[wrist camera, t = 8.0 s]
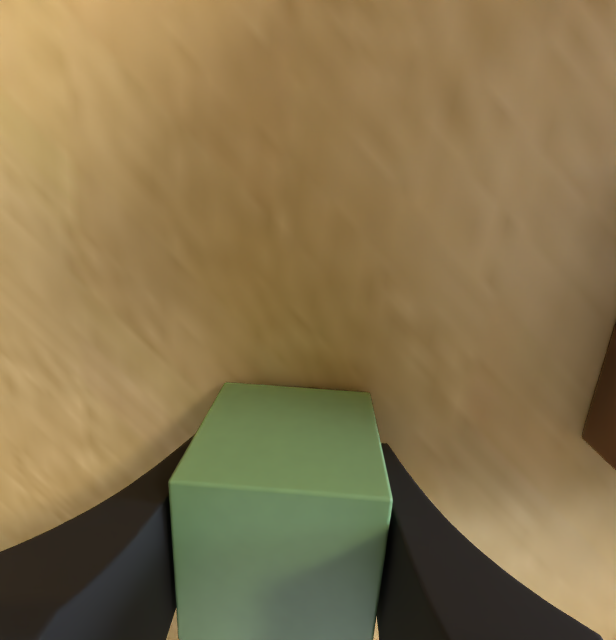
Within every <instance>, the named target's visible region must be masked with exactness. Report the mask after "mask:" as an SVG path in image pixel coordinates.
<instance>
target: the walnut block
mask: <svg viewBox="0 0 616 640" xmlns="http://www.w3.org/2000/svg"><path fill="white" fill-rule="evenodd" d="M582 439H583V440H584V441H585V442H586V443H587V444H588V445H590V446H591V447H592V448H593V449H594V450H595V451H596V452H597V453H598V454H599V455H600V456H601V457H602V458H603V459H604V460H605V461H607V462H608V463H609V464H610V465H611V466H612V467H613V468H614V469H615V470H616V324H615V327H614V330H613V334H612V337H611V340H610V344H609V347H608V350H607V354H606V357H605V360H604V364H603V367H602V370H601V374H600V377H599V380H598V384H597V387H596V390H595V394H594V397H593V400H592V404H591V407H590V410H589V414H588V417H587V420H586V424H585V427H584V430H583V434H582Z"/></svg>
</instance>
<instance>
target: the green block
mask: <svg viewBox="0 0 616 640" xmlns="http://www.w3.org/2000/svg"><path fill="white" fill-rule="evenodd" d="M168 487H169V502H170V517H171V533H172V548H173V563H174V579H175V594H176V610H177V625H178V638H179V640H373V636H374V629H375V622H376V615H377V608H378V601H379V594H380V587H381V580H382V573H383V566H384V559H385V552H386V545H387V538H388V531H389V524H390V517H391V510H392V503H393V498H392V493H391V488H390V484H389V479H388V474H387V470H386V465H385V460H384V456H383V451H382V446H381V442H380V437H379V432H378V427H377V423H376V418H375V413H374V409H373V404H372V399H371V395H370V393H368V392H357V391H343V390H329V389H315V388H301V387H287V386H272V385H258V384H244V383H230V382H226V383H224V385H223V387H222V388H221V390H220V392H219V394H218V395H217V397H216V399H215V401H214V402H213V404H212V406H211V408H210V409H209V411H208V413H207V415H206V416H205V418H204V420H203V422H202V423H201V425H200V427H199V429H198V430H197V432H196V434H195V436H194V437H193V439H192V441H191V443H190V444H189V446H188V448H187V450H186V451H185V453H184V455H183V457H182V458H181V460H180V462H179V464H178V465H177V467H176V469H175V471H174V472H173V474H172V476H171V478H170V479H169V482H168Z"/></svg>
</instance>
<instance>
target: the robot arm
mask: <svg viewBox="0 0 616 640" xmlns="http://www.w3.org/2000/svg"><path fill="white" fill-rule="evenodd" d="M194 436H195V435H194ZM194 436H192V437H191V438H190V439H189V440H188V441H186V442H185V443H184V444H183V445H181V446H180V447H179V448H178V449H177V450H175V451H174V452H173V453H172V454H170V455H169V456H168V457H167V458H165V459H164V460H163V461H162V462H160V463H159V464H158V465H157V466H155V467H154V468H153V469H151V470H150V471H148V472H147V473H146V474H144V475H143V476H141V477H140V478H139V479H137V480H136V481H134V482H133V483H132V484H130V485H129V486H127V487H126V488H124V489H123V490H121V491H120V492H118V493H117V494H115V495H113V496H112V497H110V498H109V499H107V500H105V501H104V502H102V503H100V504H99V505H97V506H95V507H93V508H92V509H90V510H88V511H86V512H84V513H82V514H80V515H79V516H77V517H75V518H73V519H71V520H69V521H67V522H65V523H63V524H61V525H59V526H57V527H55V528H53V529H51V530H49V531H47V532H45V533H43V534H41V535H38V536H36V537H34V538H32V539H30V540H27V541H25V542H23V543H20V544H18V545H16V546H13V547H11V548H9V549H6V550H4V551H1V552H0V640H166V638H167V634H168V631H169V628H170V625H171V622H172V619H173V615H174V612H175V609H176V594H175V579H174V563H173V548H172V533H171V517H170V502H169V487H168V482H169V479H170V478H171V476H172V474H173V472H174V471H175V469H176V467H177V465H178V464H179V462H180V460H181V458H182V457H183V455H184V453H185V451H186V450H187V448H188V446H189V444H190V443H191V441H192V439H193V437H194ZM381 446H382V451H383V456H384V460H385V465H386V470H387V474H388V479H389V484H390V488H391V493H392V498H393V503H392V510H391V517H390V524H389V531H388V538H387V545H386V552H385V559H384V566H383V573H382V580H381V587H380V594H379V601H378V608H377V623H378V631H379V640H603V639H602V637H601V636H600V635H599V634H597V633H596V632H594V631H593V630H591V629H589V628H588V627H586V626H585V625H583V624H581V623H580V622H578V621H577V620H575V619H573V618H572V617H570V616H569V615H567V614H566V613H564V612H562V611H561V610H559V609H558V608H556V607H554V606H553V605H551V604H550V603H548V602H547V601H545V600H544V599H542V598H541V597H540V596H538V595H537V594H535V593H534V592H533V591H531V590H530V589H528V588H527V587H526V586H524V585H523V584H521V583H520V582H519V581H517V580H516V579H515V578H513V577H512V576H511V575H509V574H508V573H507V572H506V571H504V570H503V569H502V568H501V567H499V566H498V565H497V564H496V563H494V562H493V561H492V560H491V559H490V558H488V557H487V556H486V555H485V554H484V553H482V552H481V551H480V550H479V549H478V548H477V547H475V546H474V545H473V544H472V543H471V542H470V541H469V540H468V539H467V538H466V537H465V536H464V535H462V534H461V533H460V532H459V531H458V530H457V529H456V528H455V527H454V526H453V525H452V524H451V523H450V522H449V521H448V520H447V519H446V518H445V517H444V516H443V515H442V513H441V512H440V511H439V510H438V509H437V508H436V507H435V506H434V504H433V503H432V502H431V501H430V500H429V499H428V497H427V496H426V495H425V494H424V493H423V491H422V490H421V489H420V488H419V486H418V485H417V484H416V482H415V481H414V480H413V479H412V477H411V476H410V475H409V473H408V472H407V471H406V469H405V468H404V466H403V465H402V464H401V462H400V461H399V459H398V458H397V457H396V455H395V454H394V452H393V451H392V449H391V448H390V446H389V445H388V444H387V443H381Z"/></svg>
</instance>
